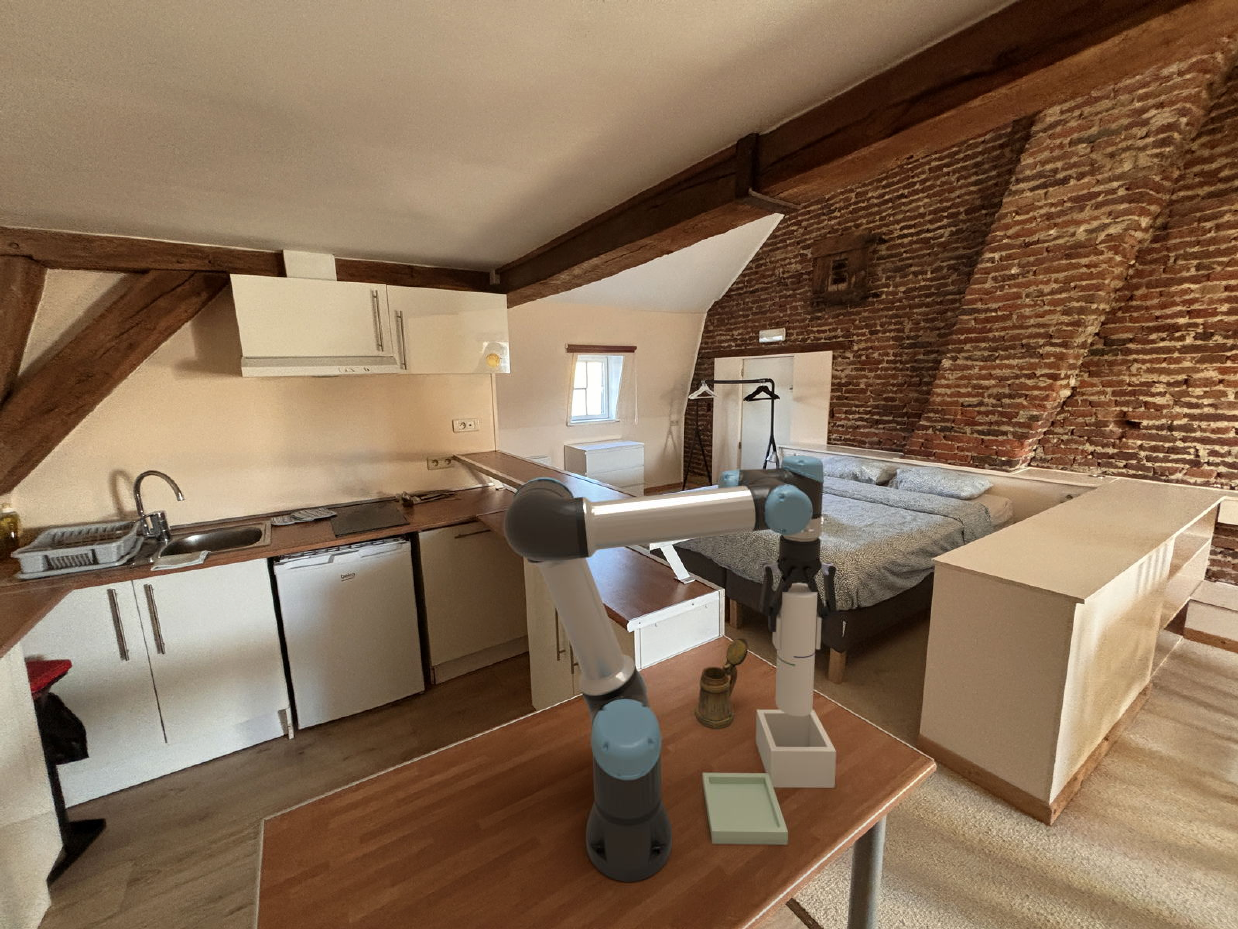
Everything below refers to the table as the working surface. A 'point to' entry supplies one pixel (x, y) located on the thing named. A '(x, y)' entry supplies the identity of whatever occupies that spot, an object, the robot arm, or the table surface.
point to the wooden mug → (720, 688)
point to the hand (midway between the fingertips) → (795, 645)
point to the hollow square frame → (795, 750)
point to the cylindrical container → (796, 651)
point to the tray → (743, 809)
